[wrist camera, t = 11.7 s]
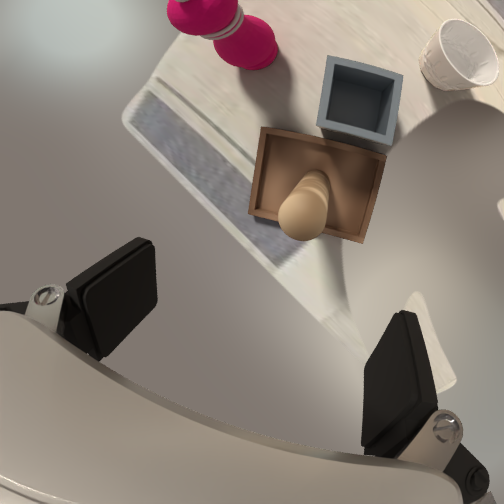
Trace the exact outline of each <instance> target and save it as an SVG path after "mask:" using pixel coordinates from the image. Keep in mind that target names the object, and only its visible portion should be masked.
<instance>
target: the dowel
mask: <svg viewBox="0 0 504 504" xmlns="http://www.w3.org/2000/svg"><path fill="white" fill-rule="evenodd" d="M329 191H330V179H329V177H328V175H327V174H326V173H325V172H323V171H322V170H318V169H313V170H310V171H308V172H307V173H306V174H305V175H304V177H303V178H302V179H301V181H300V182H299V183H298V184H297V186H296V187H295V188H294V189H293V191H292V192H291V193H290V195H289V196H288V197H287V198H286V200H285V201H284V202H283V204H282V205H281V207H280V209H279V213H278V220H279V224H280V227H281V228H282V230H283V231H284V233H285V234H286V235H288V236H289V237H291V238H293V239H295V240H299V241H308V240H312V239H314V238H316V237H317V236H318V235H320V234H321V232H322V231H323V229H324V227H325V224H326V218H327V209H328V200H329Z"/></svg>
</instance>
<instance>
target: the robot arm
mask: <svg viewBox="0 0 504 504" xmlns="http://www.w3.org/2000/svg"><path fill="white" fill-rule="evenodd" d="M66 286H67V290H68V291H67V292H66V293H64V290H63V288H62V287H60V286H58V285H54V284H50V285H45V286H42V287H40V288H38V289H37V290H36V291H35V292H34V293H33V294H32V296H31V298H30V301H27V302H18V303H8V304H0V504H496V502H495V500H494V497H493V495H492V493H491V491H490V492H488V493H487V489H488V487H489V474H488V471H487V470H486V468H485V467H484V466H483V465H482V464H481V463H480V462H479V461H478V460H477V459H476V458H475V457H474V456H473V455H472V454H471V453H470V452H469V451H468V450H467V449H466V448H465V447H464V446H463V445H462V444H461V443H460V442H461V440H462V437H463V427H462V423H461V421H460V419H459V418H458V417H457V416H456V415H455V414H454V413H453V412H451V411H449V410H438V406H437V403H438V400H437V395H436V389H435V384H434V379H433V375H432V370H431V366H430V362H429V358H428V354H427V350H426V346H425V342H424V339H423V335H422V332H421V328H420V325H419V322H418V318H417V315H416V313H413V312H409V311H405V310H401V311H400V312H399V313H395V314H394V315H393V317H392V319H391V321H390V323H389V324H388V326H387V328H386V330H385V332H384V334H383V335H382V337H381V339H380V341H379V343H378V344H377V346H376V348H375V349H374V351H373V353H372V354H371V356H370V358H369V359H368V361H367V363H366V365H365V368H364V400H363V401H364V402H363V422H362V437H361V446H363V447H365V449H364V455H357V454H350V453H343V452H336V451H330V450H326V449H320V448H315V447H309V446H305V445H300V444H296V443H291V442H287V441H283V440H279V439H275V438H272V437H268V436H265V435H261V434H257V433H254V432H251V431H248V430H245V429H241V428H239V427H236V426H233V425H230V424H227V423H224V422H221V421H218V420H215V419H213V418H211V417H208V416H205V415H203V414H200V413H198V412H195V411H193V410H191V409H188V408H186V407H184V406H181V405H179V404H177V403H175V402H172V401H170V400H168V399H166V398H164V397H161V396H159V395H157V394H156V393H153V392H152V391H149V390H148V389H146V388H144V387H142V386H140V385H138V384H136V383H134V382H132V381H131V380H129V379H127V378H125V377H123V376H122V375H120V374H118V373H117V372H115V371H113V370H111V369H110V368H108V367H106V366H105V365H103V364H102V363H100V362H99V361H100V360H101V359H102V358H103V357H107V356H108V355H109V354H110V353H111V352H112V351H113V350H114V349H115V348H116V347H117V346H118V345H119V344H120V343H121V342H122V341H123V340H124V339H125V338H126V336H127V335H128V334H129V333H130V332H131V331H132V330H133V329H134V328H135V327H136V326H137V325H138V324H139V323H140V322H141V321H142V320H143V319H144V318H145V317H146V316H147V315H148V314H149V313H150V312H151V311H152V310H153V308H155V306H156V304H157V299H158V298H157V283H156V264H155V247H154V246H153V245H152V242H151V241H150V240H147V239H144V238H141V237H137V238H135V239H133V240H132V241H130V242H128V243H127V244H125V245H124V246H122V247H120V248H119V249H117V250H116V251H114V252H112V253H111V254H109V255H108V256H106V257H105V258H103V259H102V260H100V261H99V262H97V263H96V264H94V265H93V266H91V267H90V268H88V269H87V270H85V271H84V272H82V273H81V274H79V275H78V276H76V277H75V278H73V279H72V280H71V281H69V282H68V283H66ZM87 353H88V354H89V355H87ZM365 455H373V456H365Z"/></svg>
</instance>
